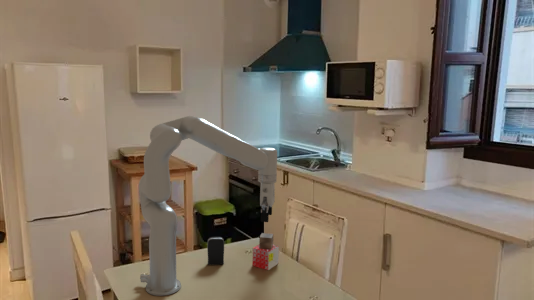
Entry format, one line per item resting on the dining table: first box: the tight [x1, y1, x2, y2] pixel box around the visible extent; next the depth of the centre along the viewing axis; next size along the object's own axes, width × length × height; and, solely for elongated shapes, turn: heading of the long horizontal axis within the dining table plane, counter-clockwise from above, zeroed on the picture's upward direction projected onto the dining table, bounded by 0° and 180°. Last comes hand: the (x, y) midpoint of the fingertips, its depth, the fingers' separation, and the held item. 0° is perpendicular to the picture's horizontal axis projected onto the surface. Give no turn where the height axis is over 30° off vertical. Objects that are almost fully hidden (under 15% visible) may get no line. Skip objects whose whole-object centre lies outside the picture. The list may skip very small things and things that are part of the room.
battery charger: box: [206, 236, 225, 266], centre depth 179 cm, size 7×4×11 cm, turn 100°
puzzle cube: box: [252, 244, 280, 271], centre depth 179 cm, size 8×8×8 cm
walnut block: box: [258, 232, 274, 250], centre depth 178 cm, size 5×5×5 cm
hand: (266, 218), depth 176 cm, fingers open, 9 cm apart
